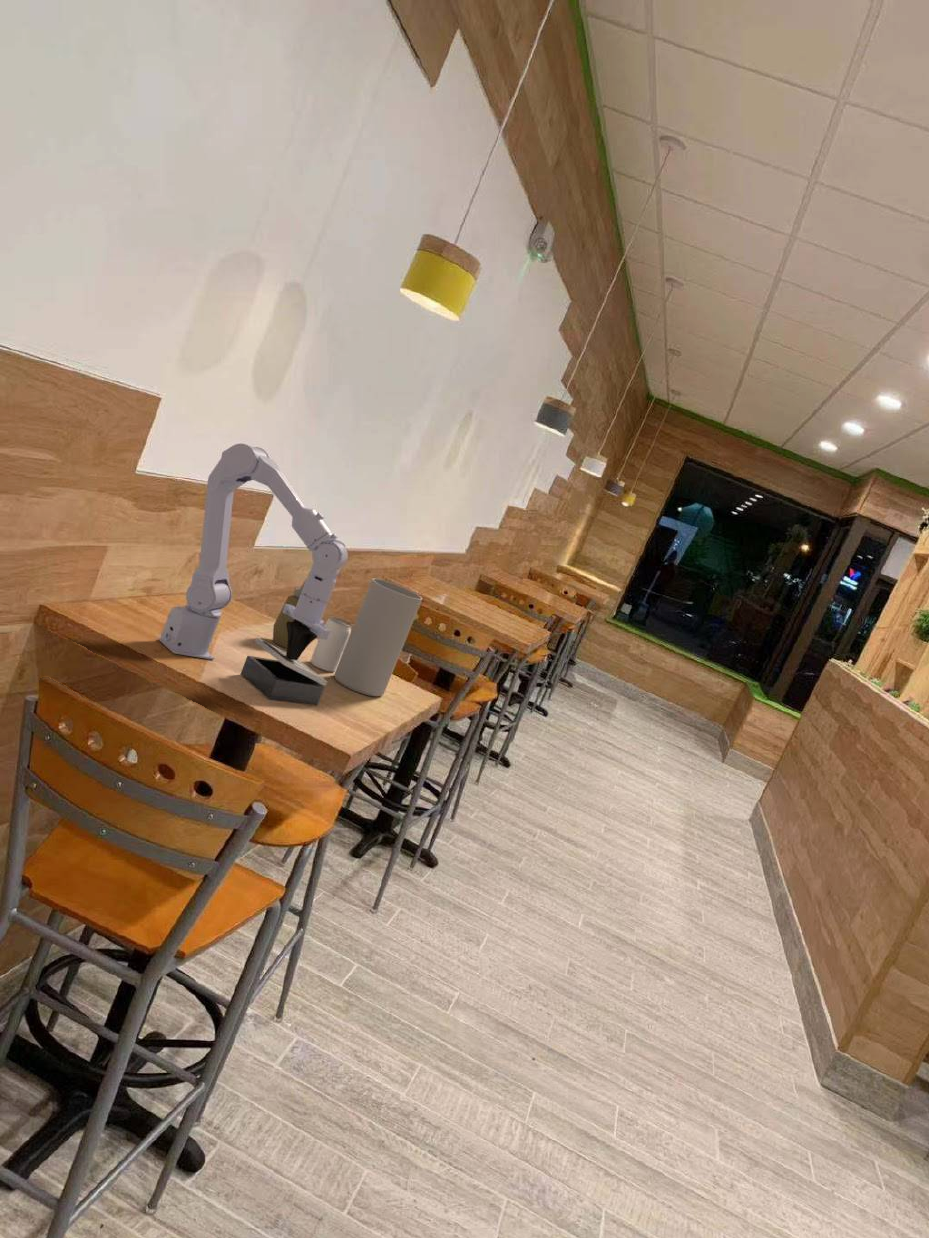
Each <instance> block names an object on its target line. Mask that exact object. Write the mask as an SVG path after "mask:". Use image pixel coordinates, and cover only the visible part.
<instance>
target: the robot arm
mask: <svg viewBox="0 0 929 1238" xmlns="http://www.w3.org/2000/svg"><path fill="white" fill-rule="evenodd" d="M250 481H255V482H257V483H259V484H262V485H265V486H267V487H268V488H269V489H270V491H271V492H272V493H273V495H274V496H275V497H276V498H277V500H278V501H279V503H280V504H281V505H282V506H283V507H284V508H285V509H286V511H287V512H288V513H289V514H290V516H291V527H292V529H293V530H294V532H295V533H296V534H297V536H298V537H299V538H300V539H301V540H300V541H302V542H303V544H304V545H305V546H306V547H307V549H308V551H309V552H311V553H312V554H311V558H312V561H313V562H312V566H311V567H310V569H309V572H308V574H307V576H306V579H305V580H306V582H305V581H304V582H305V584H304V587H303V590H302V592H301V595H300V597H299V600H298V603H297V605H296V607H294V606H293V605H288V604H285V603H284V604H285V606H284V605H283V606H284V609H283V613H284V614H287V615H289V616H290V617H292V618H293V619H294V621H293V622H289V621H288V622H287V624H286V626H287V632H288V643H287V648H286V651H285V652H286V656H287V657H288V658H289V659H292V660H298V659H300V657H301V656H302V654H303V652H304V651H305V650H306V648H308V646H309V645H310V644H311V643H312V642H313V641H314V640H316V639H319V638H320V639H325V640H327V638H328V635H329V633H330V631H329V630H328V629H327V628H326V627H325V626H324V625H325V620H323V617H324V615H325V612H326V609H327V607H328V604H329V601H330V598H331V596H332V593H333V591H334V588H335V586H336V583H337V579H338V576H339V573H340V571H341V568H343V566H344V565H345V564H347V561H348V558H349V553H348V552H349V551H348V548H347V547H346V544H345V543H343V542H342V541H340V540H337V539H338V535H337V534H336V533H333V532H332V531H331V530H330V529H329V528H330V527H328V525H327V524H326V523H325V521H324V518H325V516H324V515H323V514H322V512H317V511H316V510H315V509H314V508H307V507H306V505H305V504H304V503H303V502H302V500H301V498H300V497H299V496H298V494H297V492H296V491H295V489H294V488H293V486H292V485H291V483H290V481H289V480H288V479H287V477H286V476H285V475H284V473H283V471H282V470H281V468H280V467H279V465H278V464H277V462H276V461H275V460H274V458H271V457H270V455H269V454H268V452H267V451H266V450H265V449H263V448H262V447H259V446H251V445H248V444H245V443H235V444H233V445H231V446H230V447H228V448H227V449H225V450H224V451H222V452H221V458H220V459H219V461H218V462H217V464H215V467H214V468H213V469H212V471H211V473H210V474H209V475H208V478H207V484H206V494H205V495H206V496H205V503H204V504H205V506H204V514H203V515H204V517H203V523H202V524H203V526H202V527H203V528H202V535H201V536H202V537H201V547H200V554H199V555H200V556H199V565H198V566H197V568H196V569H195V571H194V572H193V574H192V579H191V583H190V585H189V586H188V588H187V590H186V594H185V597H186V598H185V599H186V602H187V603H186V605H183V606H178V605H177V606H174V607H172V609H171V610H170V611H169V614H168V615H167V618H166V621H165V624H164V627H163V628H162V629H163V630H162V631H161V632H162V633H161V635H160V636H158V638H157V639H158V640H159V642H161V643H162V644H163V645H164V646H165V647H166V648H167V649H168V650H169V651H170V652H172V654H174V655H175V654H176V655H181V656H187V657H188V656H189V657H195V658H199V659H206V660H215V656H213V655H212V654H211V653H210V652H209V649H210V646H211V645H212V642H213V638H214V635H215V633H216V631H217V628H218V625H219V622H220V619H221V616H222V614H223V613H222V609H223V608H225V607H227V606H228V605H229V604H230V603H231V601H232V599H233V598H232V597H233V590H232V588H231V585H230V573H229V571H228V568H227V567H228V566H227V564H228V563H227V562H228V552H229V542H230V532H231V525H232V524H231V522H232V513H233V502H234V495H235V494H234V492H235V490H238V489H239V488H240V487H241V486H243V485H244V484H246V483H247V482H250Z"/></svg>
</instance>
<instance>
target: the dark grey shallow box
mask: <svg viewBox="0 0 929 1238" xmlns="http://www.w3.org/2000/svg"><path fill="white" fill-rule="evenodd" d="M239 676H241V677H242V678H244V679H245V680H246V681H247V682H248V683H249V684H251V685H252V686H253V687H254V688H255V689H256V690H258V692H260V694H262V695H263V696H264V697H265V698H266V699H268V700H270V701H278V702H283V703H284V702H285V703H291V704H292V703H293V704H302V705H309V706H318V704H319V702H320V700H321V698H322V695H323V692H324V689H325V686H324V685H322V684H320V683H318V682H316V681H314V680H312V679H310V678H308V677H306V676H304V675H303V674H301V673H299V672H297V671H295V670H293V669H291V668H289V667H287V666H285V665H283V664H282V663H281V662H280V661H278V660H277V659H272V658H271V659H270V658H265V657H258V656H253V655H247V656H246V659H245V661H244V665H243V666H242V669H241V672H240V675H239Z"/></svg>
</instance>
